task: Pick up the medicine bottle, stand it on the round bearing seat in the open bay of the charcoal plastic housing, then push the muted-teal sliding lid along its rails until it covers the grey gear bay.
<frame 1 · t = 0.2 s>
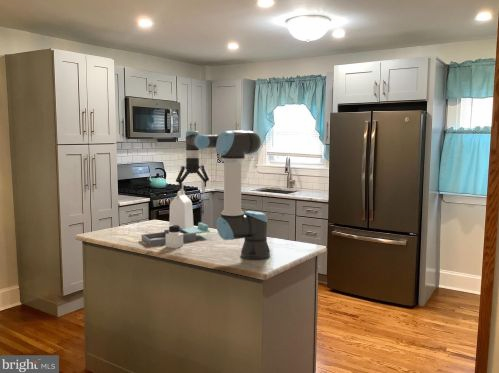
hand: (192, 193, 268), 27 cm above the countertop, fingers open, 13 cm apart
medicine bottle: (174, 246, 254), on the countertop
housing: (169, 240, 267), on the countertop
milk: (181, 231, 292), on the countertop
lid: (195, 227, 275), point 6 cm above the countertop, slide at 10.0 cm
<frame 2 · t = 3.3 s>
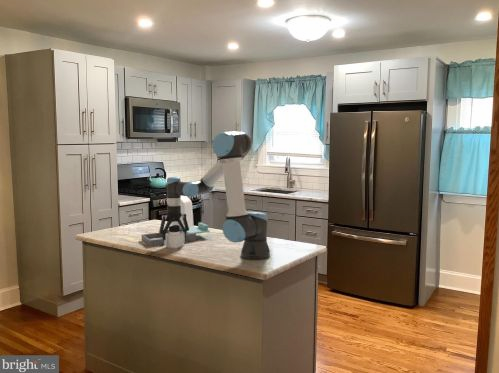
hand: (174, 244, 254), 1 cm above the countertop, fingers closed on medicine bottle, 9 cm apart
medicine bottle: (174, 246, 254), on the countertop, touching gripper
everything else where it was.
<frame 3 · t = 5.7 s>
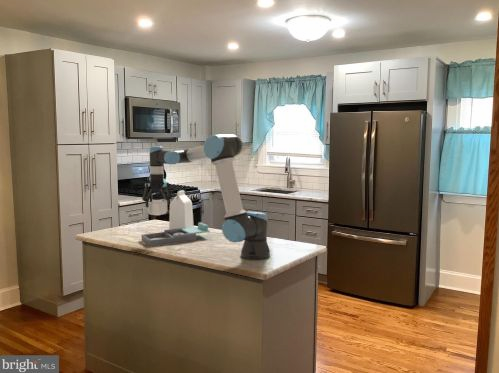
hand: (157, 212, 261), 18 cm above the countertop, fingers closed on medicine bottle, 9 cm apart
medicine bottle: (157, 214, 262), point 16 cm above the countertop, touching gripper
everything else where it was.
when the fingers open (4 cm above the countertop, at t = 8.3 s): medicine bottle drops 2 cm, resting on housing.
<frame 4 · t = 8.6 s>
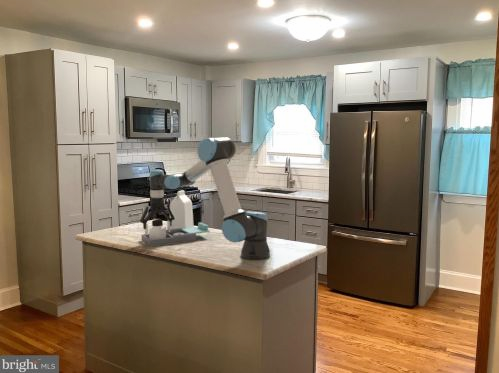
hand: (157, 233, 263), 5 cm above the countertop, fingers open, 13 cm apart
medicine bottle: (157, 240, 264), point 1 cm above the countertop, touching housing
everything else where it was.
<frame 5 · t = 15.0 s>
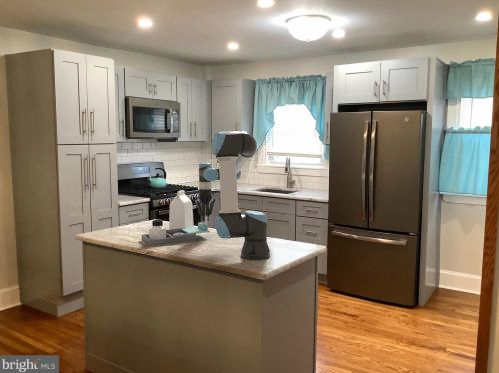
hand: (205, 226, 278), 6 cm above the countertop, fingers closed
lid: (195, 228, 275), point 6 cm above the countertop, slide at 9.9 cm, touching gripper
everything else where it was.
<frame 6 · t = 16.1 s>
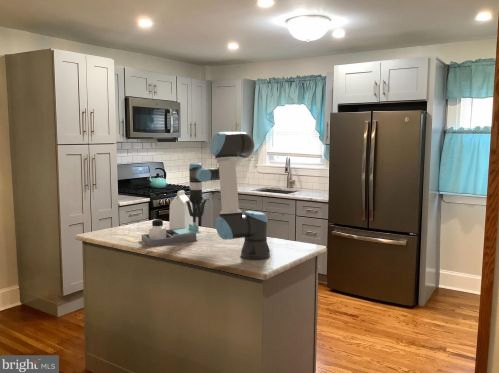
hand: (196, 227, 275), 6 cm above the countertop, fingers closed
lid: (185, 229, 272), point 6 cm above the countertop, slide at 3.8 cm, touching gripper
everything else where it was.
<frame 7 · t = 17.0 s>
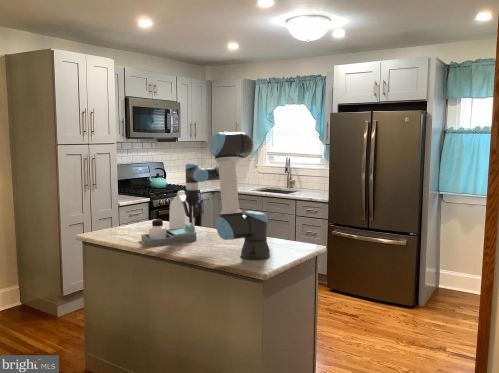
hand: (192, 227, 274), 6 cm above the countertop, fingers closed
lid: (182, 229, 271), point 6 cm above the countertop, slide at 1.4 cm, touching gripper
everything else where it was.
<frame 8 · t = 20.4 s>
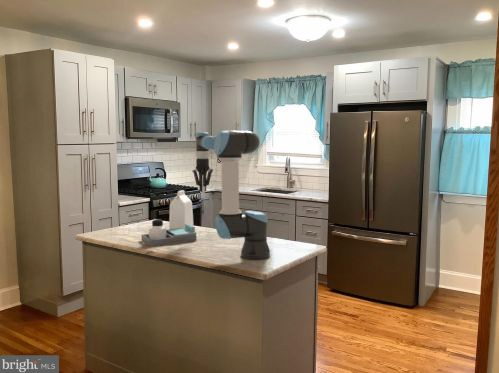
hand: (202, 196, 275), 24 cm above the countertop, fingers closed
lid: (182, 229, 271), point 6 cm above the countertop, slide at 1.3 cm
everything else where it was.
at the end: medicine bottle inside the target area on the housing (0.2 cm from its centre), point 1.0 cm above the housing's base; medicine bottle tilted 0°; lid slide at 1.3 cm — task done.
